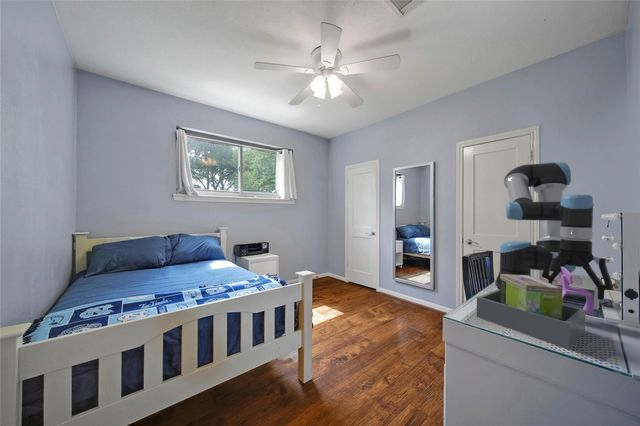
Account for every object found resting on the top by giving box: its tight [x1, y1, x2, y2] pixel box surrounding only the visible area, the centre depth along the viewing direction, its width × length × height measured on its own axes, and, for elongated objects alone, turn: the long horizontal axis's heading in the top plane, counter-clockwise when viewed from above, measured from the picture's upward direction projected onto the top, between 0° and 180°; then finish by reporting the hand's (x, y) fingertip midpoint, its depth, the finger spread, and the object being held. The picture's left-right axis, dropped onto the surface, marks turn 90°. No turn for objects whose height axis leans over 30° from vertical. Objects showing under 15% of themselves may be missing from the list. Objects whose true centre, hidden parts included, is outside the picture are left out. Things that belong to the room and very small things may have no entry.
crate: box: [476, 288, 586, 350], centre depth 78 cm, size 18×23×7 cm
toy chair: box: [558, 267, 595, 317], centre depth 82 cm, size 8×9×15 cm
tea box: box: [500, 274, 563, 320], centre depth 78 cm, size 15×10×15 cm
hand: (574, 303), depth 82 cm, fingers closed on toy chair, 9 cm apart
